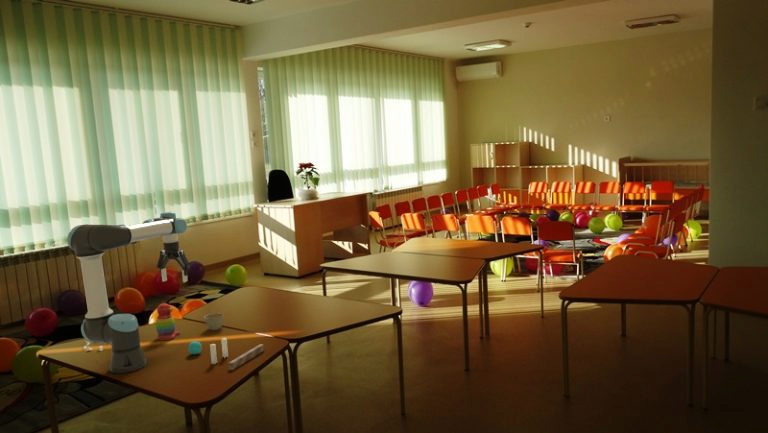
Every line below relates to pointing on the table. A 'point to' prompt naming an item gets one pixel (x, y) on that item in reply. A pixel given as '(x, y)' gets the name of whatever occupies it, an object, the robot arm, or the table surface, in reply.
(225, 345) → the ivory pin
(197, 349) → the ball
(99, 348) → the game piece set
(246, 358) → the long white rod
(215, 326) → the grey round cup
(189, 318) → the table surface
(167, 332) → the stacking bear
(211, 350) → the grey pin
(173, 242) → the robot arm
